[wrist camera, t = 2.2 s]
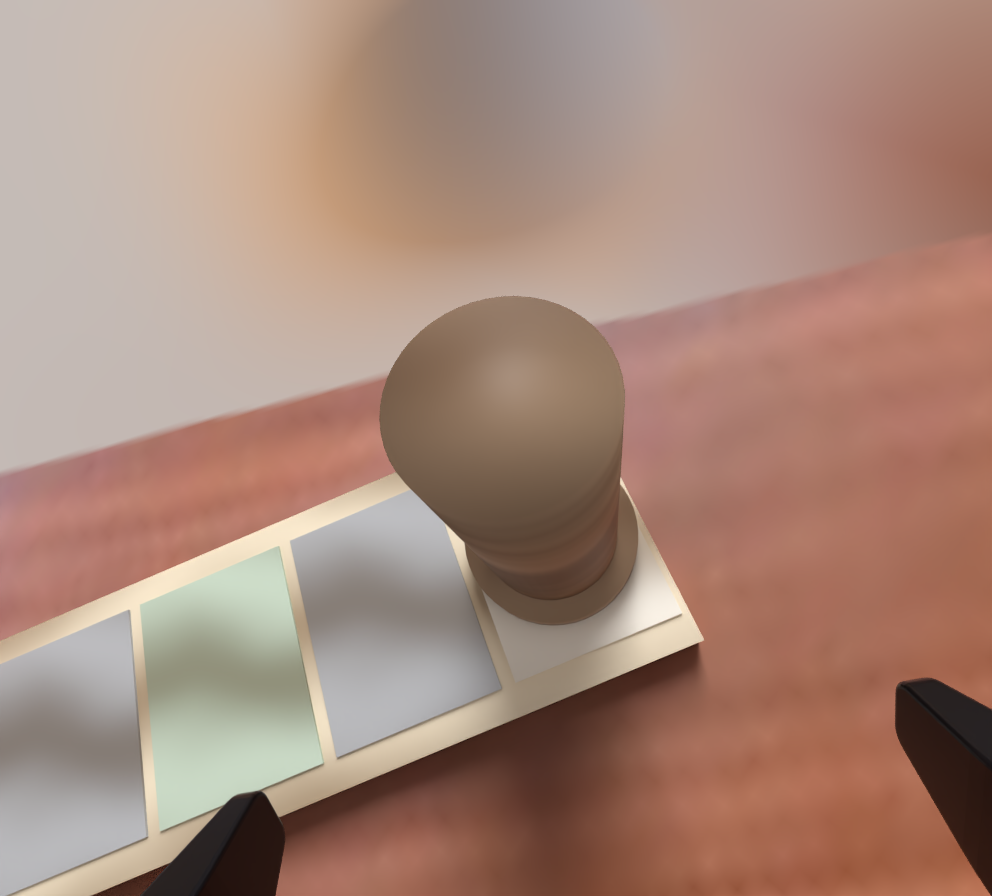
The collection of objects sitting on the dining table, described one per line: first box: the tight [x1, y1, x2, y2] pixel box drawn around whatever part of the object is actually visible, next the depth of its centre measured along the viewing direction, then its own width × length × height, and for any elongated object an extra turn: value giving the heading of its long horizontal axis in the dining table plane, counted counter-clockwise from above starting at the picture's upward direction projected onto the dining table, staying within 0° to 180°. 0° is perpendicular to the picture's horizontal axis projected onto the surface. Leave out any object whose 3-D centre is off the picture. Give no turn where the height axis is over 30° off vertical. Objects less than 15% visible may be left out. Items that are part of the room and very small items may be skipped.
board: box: [0, 472, 704, 896], centre depth 21 cm, size 10×26×1 cm, turn 110°
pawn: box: [380, 296, 638, 626], centre depth 15 cm, size 6×6×11 cm
